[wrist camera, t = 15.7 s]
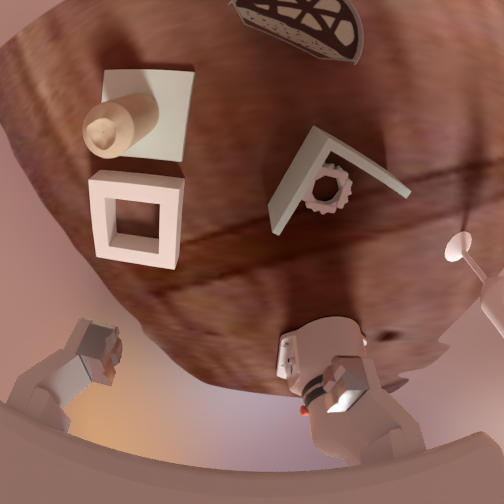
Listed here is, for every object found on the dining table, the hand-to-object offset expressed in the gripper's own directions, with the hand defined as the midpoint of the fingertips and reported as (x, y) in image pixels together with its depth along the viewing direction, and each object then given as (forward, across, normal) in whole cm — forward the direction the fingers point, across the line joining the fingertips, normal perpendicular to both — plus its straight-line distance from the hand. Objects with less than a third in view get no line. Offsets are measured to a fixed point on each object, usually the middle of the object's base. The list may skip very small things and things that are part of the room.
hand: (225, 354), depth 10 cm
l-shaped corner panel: (+29, -11, +2) cm, 32 cm away
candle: (+27, +13, -4) cm, 30 cm away
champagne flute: (+30, -40, +7) cm, 50 cm away
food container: (+28, -2, -17) cm, 33 cm away
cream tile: (+28, +13, -4) cm, 31 cm away
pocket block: (+28, +13, +10) cm, 32 cm away
